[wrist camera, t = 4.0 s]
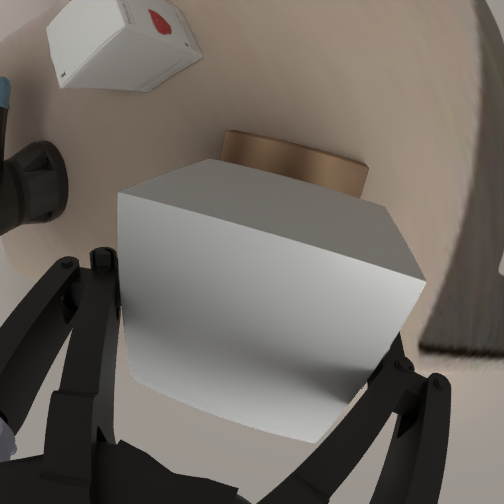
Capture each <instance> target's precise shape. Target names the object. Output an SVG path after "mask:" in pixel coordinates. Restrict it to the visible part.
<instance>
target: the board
mask: <svg viewBox="0 0 504 504" xmlns="http://www.w3.org/2000/svg"><path fill="white" fill-rule="evenodd" d="M220 161H224V162H228V163H233V164H237V165H241V166H246V167H250V168H254V169H258V170H262V171H266V172H270V173H274V174H278V175H282V176H286V177H289V178H293V179H297V180H300V181H304V182H307V183H311V184H314V185H318V186H321V187H325V188H328V189H331V190H335V191H338V192H341V193H344V194H347V195H351V196H354V197H357V198H360V197H361V194H362V190H363V187H364V184H365V180H366V177H367V174H368V170H369V167H368V166H367V165H366V164H363V163H360V162H357V161H354V160H351V159H347V158H344V157H341V156H338V155H334V154H331V153H327V152H324V151H320V150H317V149H313V148H310V147H306V146H302V145H298V144H294V143H290V142H286V141H282V140H278V139H274V138H269V137H265V136H260V135H256V134H251V133H246V132H241V131H236V130H231V131H225V136H224V141H223V147H222V152H221V158H220Z"/></svg>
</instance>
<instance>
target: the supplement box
mask: <svg viewBox="0 0 504 504" xmlns="http://www.w3.org/2000/svg"><path fill="white" fill-rule="evenodd" d="M46 31H47V36H48V41H49V45H50V55H51V59H52V61H53V63H54V67H55V71H56V75H57V79H58V83H59V86H60V88H61V89H62V88H90V89H114V90H129V91H140V92H149V91H151V90H152V89H154V88H155V87H157V86H158V85H160V84H161V83H163V82H164V81H166V80H167V79H169V78H170V77H172V76H173V75H175V74H176V73H178V72H180V71H181V70H183V69H185V68H186V67H188V66H190V65H191V64H193V63H195V62H196V61H198V60H200V59H201V58H203V55H202V53H201V50H200V48H199V46H198V44H197V42H196V40H195V38H194V36H193V34H192V32H191V30H190V28H189V26H188V24H187V22H186V20H185V18H184V16H183V14H182V12H181V10H180V9H179V8H177V7H175V6H174V5H172V4H170V3H168V2H167V1H165V0H71V1H70V2H69V3H68V4H67V5H66V6H65V7H64V8H63V10H62V11H61V12H60V13H59V14H58V15H57V16H56V17H55V18H54V19H53V20H52V22H51V23H50V24H49V25H48V27H47V28H46Z"/></svg>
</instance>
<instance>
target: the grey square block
mask: <svg viewBox="0 0 504 504" xmlns="http://www.w3.org/2000/svg"><path fill="white" fill-rule="evenodd" d="M117 239H118V266H119V282H120V295H121V306H122V316H123V325H124V333H125V340H126V346H127V354H128V360H129V366H130V371H131V377H132V379H133V380H135V381H137V382H139V383H141V384H143V385H145V386H147V387H149V388H151V389H153V390H155V391H157V392H160V393H162V394H164V395H166V396H169V397H171V398H173V399H175V400H178V401H180V402H183V403H185V404H188V405H190V406H192V407H195V408H197V409H200V410H203V411H205V412H208V413H211V414H213V415H216V416H219V417H222V418H225V419H228V420H231V421H234V422H236V423H239V424H243V425H246V426H249V427H253V428H256V429H259V430H263V431H266V432H270V433H274V434H277V435H281V436H285V437H289V438H293V439H298V440H302V441H307V442H311V443H316V442H317V441H318V440H319V439H320V438H321V437H322V435H323V434H324V433H325V432H326V431H327V430H328V429H329V427H330V426H331V425H332V424H333V423H334V422H335V420H336V419H337V418H338V417H339V416H340V414H341V413H342V412H343V411H344V409H345V408H346V407H347V406H348V404H349V403H350V402H351V401H352V399H353V398H354V397H355V395H356V394H357V393H358V391H359V390H360V389H361V387H362V386H363V385H364V383H365V382H366V381H367V379H368V378H369V376H370V375H371V374H372V372H373V371H374V369H375V368H376V366H377V365H378V364H379V362H380V361H381V359H382V358H383V356H384V355H385V353H386V352H387V350H388V348H389V347H390V345H391V344H392V342H393V341H394V339H395V337H396V336H397V334H398V332H399V331H400V329H401V328H402V326H403V324H404V322H405V321H406V319H407V317H408V316H409V314H410V312H411V310H412V308H413V307H414V305H415V303H416V301H417V299H418V298H419V296H420V294H421V292H422V290H423V288H424V286H425V284H426V282H427V281H426V279H425V277H424V275H423V273H422V271H421V270H420V268H419V266H418V264H417V262H416V260H415V258H414V256H413V254H412V253H411V251H410V249H409V247H408V245H407V243H406V242H405V240H404V238H403V236H402V235H401V233H400V231H399V229H398V228H397V226H396V224H395V223H394V221H393V219H392V218H391V216H390V214H389V213H388V211H387V210H386V208H385V207H384V206H381V205H378V204H375V203H372V202H369V201H366V200H363V199H360V198H357V197H354V196H351V195H347V194H344V193H341V192H338V191H335V190H331V189H328V188H325V187H321V186H318V185H314V184H311V183H307V182H304V181H300V180H297V179H293V178H289V177H286V176H282V175H278V174H274V173H270V172H266V171H262V170H258V169H254V168H250V167H246V166H241V165H237V164H233V163H228V162H224V161H219V160H214V159H210V158H209V159H206V160H203V161H200V162H197V163H194V164H191V165H188V166H185V167H182V168H179V169H176V170H173V171H171V172H168V173H165V174H162V175H160V176H157V177H154V178H151V179H149V180H146V181H144V182H141V183H138V184H136V185H133V186H131V187H128V188H126V189H123V190H121V191H118V201H117Z"/></svg>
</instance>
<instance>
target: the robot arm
mask: <svg viewBox="0 0 504 504" xmlns="http://www.w3.org/2000/svg"><path fill="white" fill-rule="evenodd" d="M10 89H11V85H10V81H9V80H8V79H7V78H6V77H1V76H0V236H1V235H3V234H4V233H6V232H8V231H10V230H12V229H14V228H16V227H18V226H20V225H22V224H36V223H47V222H50V221H52V220H54V219H56V218H58V217H59V216H60V215H61V214H62V212H63V211H64V209H65V206H66V202H67V196H68V181H67V174H66V169H65V166H64V162H63V160H62V157H61V155H60V153H59V152H58V150H57V149H56V148H55V146H54V145H53V144H51V143H50V142H48V141H39V142H34V143H31V144H29V145H28V146H26V147H25V148H23V149H22V150H21V151H19V152H18V153H16V154H15V155H14V156H12V157H11V158H9V159H8V160H5V161H4V145H5V132H6V123H7V115H8V109H9V96H10ZM90 262H91V269H89V268H83V267H80V266H79V260H78V259H77V258H75V257H70V256H67V257H63V258H60V259H59V260H57V261H56V262H55V263H54V264H53V265H52V266H51V268H50V269H49V270H48V271H47V272H46V273H45V274H44V275H43V276H42V277H41V279H40V280H39V281H38V282H37V283H36V284H35V285H34V287H33V288H32V289H31V290H30V291H29V292H28V294H27V295H26V296H25V297H24V298H23V300H22V301H21V302H20V303H19V304H18V306H17V307H16V308H15V310H14V311H13V312H12V313H11V314H10V316H9V317H8V318H7V320H6V321H5V322H4V323H3V325H2V326H1V327H0V504H251V503H250V502H249V501H247V500H246V499H245V498H243V497H242V496H240V495H238V494H237V492H238V488H236V487H232V486H229V485H226V484H222V483H219V482H216V481H213V480H210V479H207V478H200V477H192V476H186V475H181V474H176V473H173V472H171V471H170V470H168V469H167V468H166V467H164V466H163V465H162V464H160V463H159V462H158V461H156V460H155V459H154V458H152V457H151V456H150V455H149V454H147V453H145V452H144V451H142V450H140V449H138V448H136V447H134V446H132V445H130V444H128V443H126V442H124V441H122V440H120V441H119V442H118V444H116V442H115V437H114V428H113V418H114V413H113V412H114V384H115V368H116V354H117V343H118V334H119V324H120V317H121V308H120V306H121V295H120V282H119V266H118V258H117V253H116V251H115V250H114V249H112V248H110V247H99V248H95V249H94V250H92V251H91V252H90ZM72 328H73V329H72ZM71 330H72V334H71V337H70V341H69V345H68V349H67V354H66V358H65V363H64V367H63V373H62V378H61V383H60V388H59V390H58V391H53V393H52V395H51V399H50V405H49V411H48V418H47V426H46V434H45V444H44V454H42V455H38V456H32V457H27V458H22V459H16V460H10V456H11V455H14V454H15V453H16V451H17V447H16V444H15V435H16V434H17V432H18V431H19V429H20V428H21V426H22V425H23V422H24V421H25V419H26V417H27V415H28V412H29V410H30V408H31V406H32V404H33V401H34V399H35V397H36V395H37V393H38V391H39V389H40V387H41V385H42V383H43V381H44V379H45V377H46V375H47V373H48V371H49V369H50V367H51V365H52V364H53V362H54V360H55V358H56V356H57V354H58V352H59V350H60V349H61V347H62V345H63V343H64V342H65V340H66V338H67V337H68V335H69V333H70V331H71ZM414 370H415V369H414V365H413V364H412V362H411V361H410V360H409V359H408V358H407V357H405V355H404V350H403V345H402V340H401V335H400V331H399V332H398V334H397V336H396V337H395V339H394V341H393V342H392V344H391V345H390V347H389V348H388V350H387V352H386V353H385V355H384V356H383V358H382V359H381V361H380V362H379V364H378V365H377V366H376V368H375V369H374V371H373V372H372V374H371V375H370V376H369V378H368V379H367V381H366V382H367V384H368V389H367V390H366V391H365V393H364V394H363V395H362V397H361V398H360V399H359V401H358V402H357V403H356V404H355V405H354V407H353V408H352V409H351V411H350V412H349V413H348V414H347V415H346V416H345V418H344V419H343V420H342V421H341V422H340V424H339V425H338V426H337V427H336V428H335V429H334V431H332V433H331V434H330V435H329V436H328V437H327V438H326V439H325V440H324V441H323V442H322V443H321V444H320V446H319V447H318V448H317V449H316V450H315V451H314V452H313V453H312V454H311V455H310V456H309V457H308V458H307V459H306V460H305V461H304V462H303V463H302V464H301V465H300V466H299V467H298V468H297V469H296V470H295V471H294V472H292V473H291V474H290V475H289V476H288V477H287V478H286V479H285V480H284V481H283V482H281V483H280V484H279V485H278V486H277V487H276V488H275V489H273V490H272V491H271V492H270V493H269V494H268V495H266V496H265V497H264V498H263V499H262V500H260V501H259V502H258V503H257V504H328V503H329V498H330V497H331V496H332V494H333V493H334V492H335V491H336V489H337V488H338V487H339V486H340V485H341V484H342V482H343V481H344V480H345V479H346V478H347V476H348V475H349V474H350V472H351V471H352V470H353V469H354V467H355V466H356V465H357V463H358V462H359V461H360V459H361V458H362V457H363V455H364V454H365V453H366V451H367V450H368V448H369V447H370V445H371V444H372V443H373V441H374V440H375V438H376V437H377V435H378V434H379V432H380V431H381V429H382V428H383V426H384V425H385V423H386V421H387V420H388V418H389V417H390V415H391V413H392V412H395V413H397V414H398V416H397V420H396V424H395V428H394V432H393V436H392V439H391V442H390V446H389V450H388V453H387V456H386V459H385V462H384V465H383V468H382V471H381V474H380V477H379V480H378V483H377V485H376V488H375V491H374V494H373V496H372V498H371V501H370V503H369V504H437V503H438V498H439V494H440V490H441V484H442V479H443V474H444V468H445V461H446V454H447V447H448V437H449V426H450V411H451V409H450V408H451V384H450V383H449V381H448V379H447V378H446V377H445V376H443V375H442V374H439V373H432V374H431V375H430V376H429V377H428V378H425V377H423V376H421V375H419V374H417V373H416V372H414ZM366 382H365V383H364V385H365V384H366ZM364 385H363V386H362V387H361V389H362V388H363V387H364Z"/></svg>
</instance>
